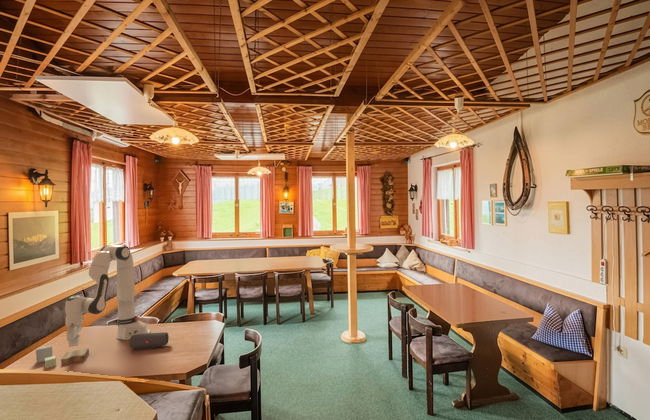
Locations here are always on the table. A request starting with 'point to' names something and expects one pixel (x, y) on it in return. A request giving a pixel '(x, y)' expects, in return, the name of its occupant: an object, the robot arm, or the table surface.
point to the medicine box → (43, 353)
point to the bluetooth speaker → (149, 340)
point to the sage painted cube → (50, 361)
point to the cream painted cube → (77, 341)
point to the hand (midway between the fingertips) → (74, 342)
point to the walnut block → (75, 356)
